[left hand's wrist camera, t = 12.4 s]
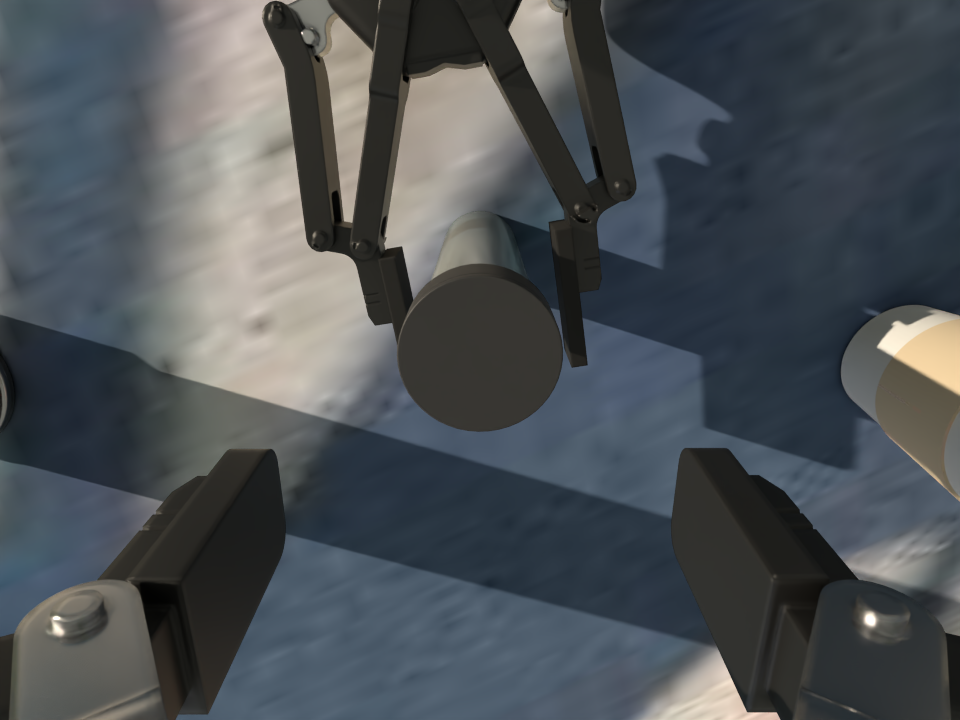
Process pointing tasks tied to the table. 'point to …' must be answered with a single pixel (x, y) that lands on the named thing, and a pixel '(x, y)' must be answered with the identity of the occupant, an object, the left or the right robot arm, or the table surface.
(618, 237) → the table surface
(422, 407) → the lid
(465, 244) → the jar
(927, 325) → the coffee cup
